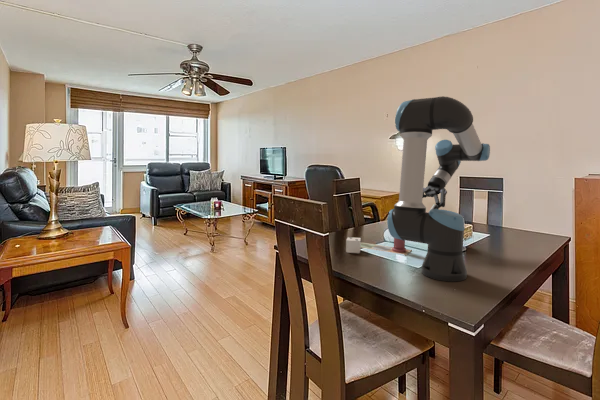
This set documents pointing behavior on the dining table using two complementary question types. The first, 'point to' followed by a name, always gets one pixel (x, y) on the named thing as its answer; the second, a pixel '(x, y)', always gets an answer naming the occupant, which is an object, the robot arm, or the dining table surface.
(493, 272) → the dining table surface
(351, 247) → the die
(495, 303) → the dining table surface
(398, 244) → the dildo
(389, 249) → the game board
